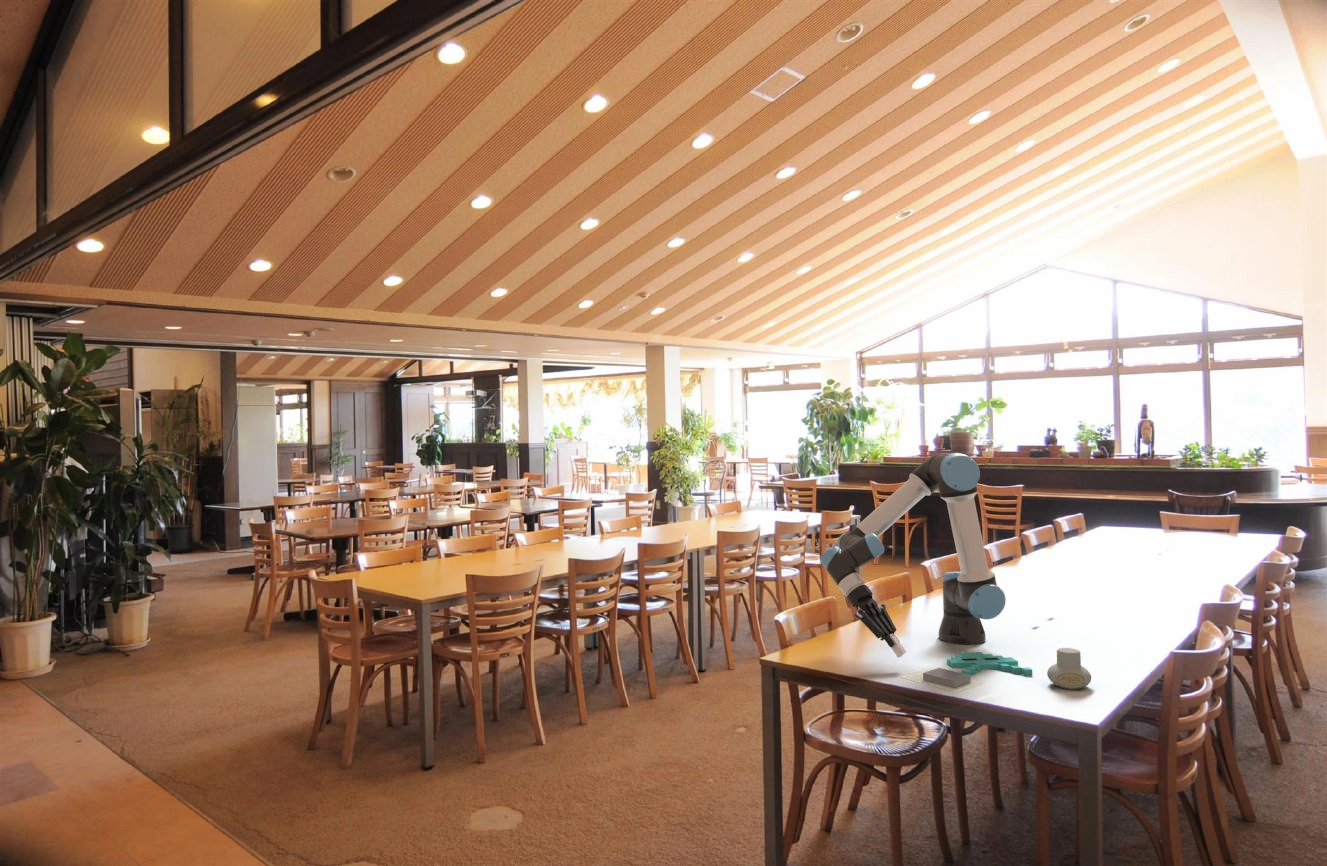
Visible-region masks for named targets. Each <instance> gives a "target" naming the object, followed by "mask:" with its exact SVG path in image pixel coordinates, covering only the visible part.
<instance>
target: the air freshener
mask: <svg viewBox="0 0 1327 866" xmlns="http://www.w3.org/2000/svg"><path fill="white" fill-rule="evenodd" d="M1081 657H1082V656H1081V651H1080V650H1078V649H1075V648H1073V647H1071V648H1070V647H1060V648H1057V649H1056V663H1054V664H1052V665H1050V666H1049V668H1048V670H1047V672H1046V675H1047V678H1048V679H1049V681H1050V682H1051V683H1052V684H1054V685H1055V686H1057V687H1060V688H1062V689H1065V690H1070V691H1071V690H1080V689H1082V688H1085V687H1087V686H1088V685H1089V684H1090V683H1091V681H1092V675H1091V673H1090V671H1089V670H1088V669H1086V668H1085V667H1084V666H1083V665H1081V664H1082V663H1081V659H1082V658H1081Z"/></svg>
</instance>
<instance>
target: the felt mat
mask: <svg viewBox="0 0 1327 866" xmlns="http://www.w3.org/2000/svg"><path fill="white" fill-rule="evenodd" d="M931 670H932V669H929V668H926V669H922V670H919V671H917V672H914V673H911V674H909V675H905V676H902V677H900V678H901V679H904V680H909V681H912V682H916V683H920V684H922V685H926V686H931V687H935V688H938V689H942V690H945V691H949V692H954V693H960V692H962V691H965V690H968V689H970V688H973V687H975V686H979V685H980V684H983V682H982V681H979V680H974V679H971V682H970V683H968V684H965V685H962V686H959V687H956V688H952V687H948V686H944V685H940V684H936V683H932V682H928V681H925V680H923V673H925V672H928V671H931Z"/></svg>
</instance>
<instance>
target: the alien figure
mask: <svg viewBox="0 0 1327 866" xmlns="http://www.w3.org/2000/svg"><path fill="white" fill-rule="evenodd" d="M946 664H947V665H948V666H949V667H951V668H952V669H954V668H960V669H961V668H963V669H961V671H960V673H963V674H967V675H970V676H971V677H973V675H976V674H977V672H981V670H992V671H1000V672H1002V673H1011V674H1013V675H1022V676H1024V677H1032V676H1033V669H1031V668H1030V667H1021V666H1019V661H1018V660H1017V659H1015V658H1013V657H1012V656H1011V657H1010V656H1009V657H1008V656H1007V657H1004V656H1003V655H993V654H992V653H983V652H981V651H977V652H976V651H975V652H969V651H968V652H959V654H955V656H950V658H947V659H946Z"/></svg>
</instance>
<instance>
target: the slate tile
mask: <svg viewBox="0 0 1327 866" xmlns="http://www.w3.org/2000/svg"><path fill="white" fill-rule="evenodd" d="M930 670H931V671H928V672H925V673H923V680H925V681H928V682H932V683H936V684H940V685H944V686H948V687H952V688H956V687H959V686H962V685H965V684H968V683H970V682H971V680H972V679H971V677H972V676H970V675H967V674H963V673H961V672H959V671H954V670H950V669H946V668H942V667H937V668H934V669H930Z"/></svg>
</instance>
